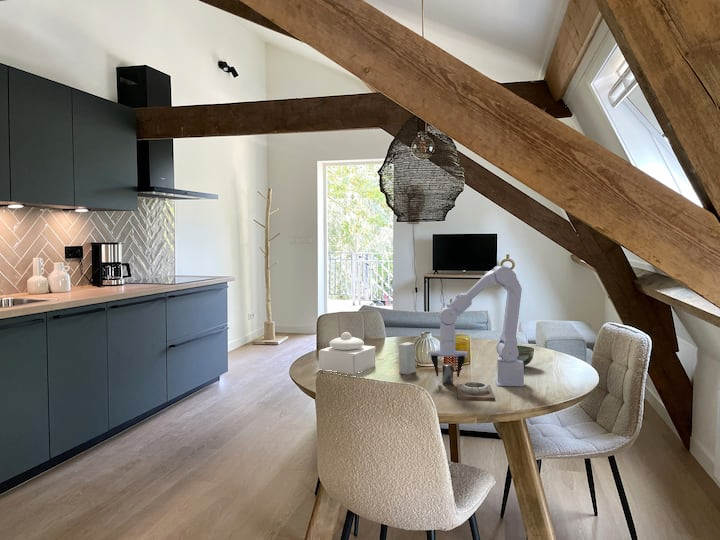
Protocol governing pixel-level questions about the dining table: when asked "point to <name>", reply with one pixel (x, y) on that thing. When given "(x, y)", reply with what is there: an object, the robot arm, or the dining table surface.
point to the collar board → (474, 391)
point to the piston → (447, 374)
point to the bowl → (525, 354)
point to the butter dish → (347, 355)
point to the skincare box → (406, 358)
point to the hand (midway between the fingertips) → (447, 375)
